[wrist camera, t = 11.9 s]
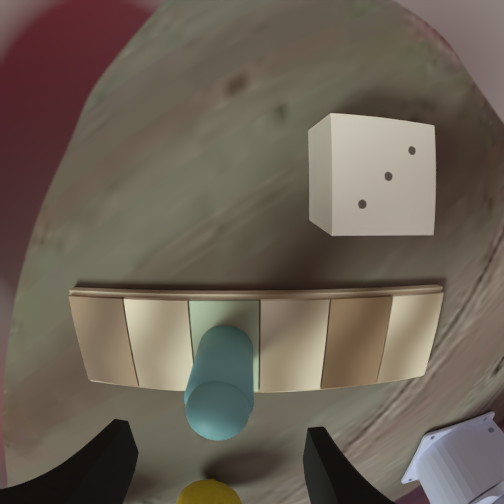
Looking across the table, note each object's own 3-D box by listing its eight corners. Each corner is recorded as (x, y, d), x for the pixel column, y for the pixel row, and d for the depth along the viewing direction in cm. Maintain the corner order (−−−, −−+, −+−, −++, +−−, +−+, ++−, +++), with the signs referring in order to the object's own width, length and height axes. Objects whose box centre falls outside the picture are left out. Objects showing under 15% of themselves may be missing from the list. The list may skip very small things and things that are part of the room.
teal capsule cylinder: (253, 325, 18) (254, 404, 11) (253, 371, 18) (254, 455, 12) (197, 324, 18) (170, 401, 11) (201, 370, 18) (181, 452, 12)
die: (389, 135, 16) (434, 124, 11) (389, 219, 17) (433, 235, 13) (307, 129, 16) (330, 111, 11) (308, 219, 17) (331, 236, 12)
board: (438, 284, 18) (444, 288, 17) (418, 371, 20) (423, 378, 19) (73, 287, 18) (67, 291, 17) (94, 376, 20) (89, 383, 19)
